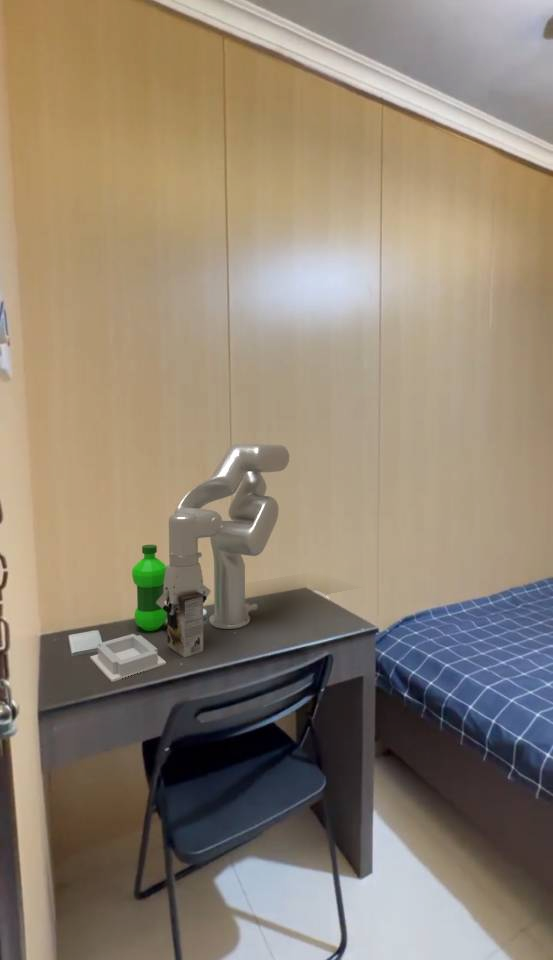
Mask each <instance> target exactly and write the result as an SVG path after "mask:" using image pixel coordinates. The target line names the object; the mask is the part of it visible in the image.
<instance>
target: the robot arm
mask: <svg viewBox="0 0 553 960" xmlns="http://www.w3.org/2000/svg"><path fill="white" fill-rule="evenodd" d="M289 453H290V452H289V450H288V448H287V447H285V446H284V445H282V444H261V443H260V444H257V443H255V444H253V443H251V444H250V443H238V444H233V445H232V446H230V447H229V448H228V449H227V451H226V452H225V454H224V456H223V457H222V458H221V461H220V462H219V464H218V465H217V467H216V469H215V470H214V472H213V473H212V475H211V476H210V477H209V478H207V479H206V480H204V481H202V482H201V483H199V484H198V485H196V486H195V487H193V488H191V489H190V490H189V491H188V492H187V493H186V494H185V495H184V496H183V498H182V499H181V500H180V502H179V503H178V505H177V507H176V509H175V511H174V513H173V514H171V515H170V516H169V518H168V552H169V553H168V555H169V564H167V565H165V566H166V571H165V577H164V591H163V594H162V595H161V597H160V598H159V599H158V600H157V602H156V604H157V605H159V606H160V607H161V608H162V609H163V610H164V611H166V612H167V613H168V625H169V626H170V627H171V628H173V629H176V628H177V623H176V614H174V613H175V610H176V607H177V605H176V604H178V597H180V596H183V595H187V594H194V593H197V592H199V593H201V594H203V604H204V603H205V602H206V601H207V598H208V597H209V595H210V594H211V592H212V590H211V589H209V587H207V586H206V585H204V578H203V577H204V576H203V571H202V567H201V563H200V562H199V558H202V552H199V545H198V544H199V541H198V540H199V539H202V538H203V539H204V538H209V539H210V545H211V550H212V555H213V581H214V582H213V588H214V590H213V593H214V596H213V597H214V598H213V599H214V600H213V603H214V606H213V607H214V608H213V609H214V612H213V613H212V614H211V615H210V616H209V621H208V622H209V624H210V625H211V626H212V627H214V628H218V629H224V630H234V629H240V628H242V627H245V626H247V625H248V624H250V621H251V616H250V615H249V613H250V612H252V611H257V610H258V609H259V607H258V604H257V603H252V604H250V603H246V565H245V562H244V559H243V556H249V557H250V556H251V557H256V556H259V555H260V554H261V553H263V551H264V549H265V548H266V546H267V545H268V544H267V543H268V542H269V540H270V537H271V535H272V533H273V531H274V529H275V526H276V524H277V521H278V517H279V504H278V502H277V500H276V499H275V498H274V497H272V496H269V495H266V492H267V484H266V483H267V482H266V481H265V478H264V477H263V475H262V473H275V472H278V473H279V472H282V471H284V470H285V469H286V468H287V467H288V465H289V463H290V454H289ZM234 494H235V495H234ZM233 495H234V497H233V499H232V500H231V503H230V505H229V508H228V516H229V518H230V520H223V517H222V516H221V514H220V513H218V512H217V511H216V510H211V509H204V508H203V507H204V506H206V505H207V504H210V503H212V502H215V501H218V500H223V499H224V498H228V497H231V496H233ZM202 508H203V509H202ZM167 601H169V602H168V605H167V604H165V602H167Z"/></svg>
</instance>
